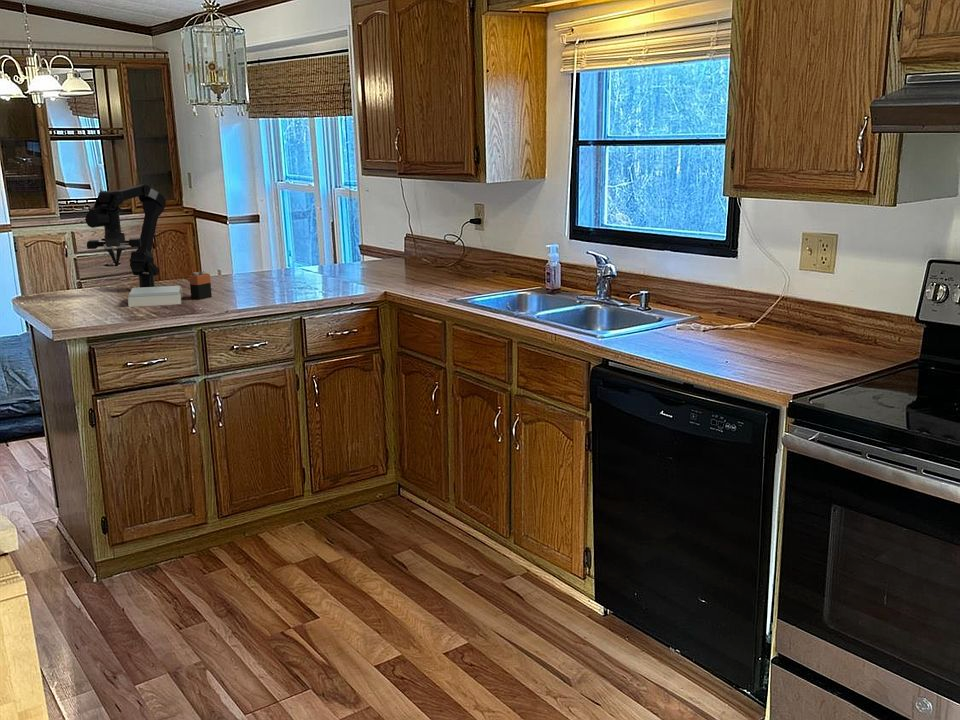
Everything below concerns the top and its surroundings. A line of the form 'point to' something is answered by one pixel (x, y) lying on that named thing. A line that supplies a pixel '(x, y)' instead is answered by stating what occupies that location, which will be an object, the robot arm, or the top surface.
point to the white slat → (155, 300)
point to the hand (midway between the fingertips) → (116, 266)
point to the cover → (154, 291)
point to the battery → (200, 285)
